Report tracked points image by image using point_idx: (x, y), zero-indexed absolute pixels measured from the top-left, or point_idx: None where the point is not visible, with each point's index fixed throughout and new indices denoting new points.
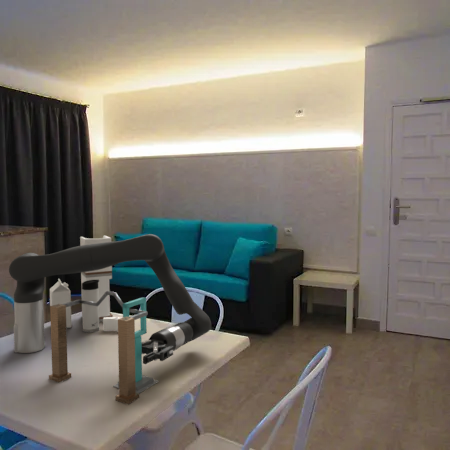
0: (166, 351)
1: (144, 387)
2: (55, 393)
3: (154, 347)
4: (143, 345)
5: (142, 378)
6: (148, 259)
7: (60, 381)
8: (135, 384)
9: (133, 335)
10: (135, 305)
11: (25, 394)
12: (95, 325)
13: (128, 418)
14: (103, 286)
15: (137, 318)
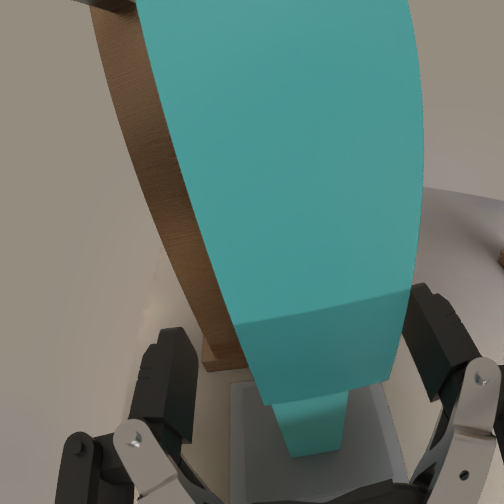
0: (62, 490)
1: (241, 433)
2: (437, 240)
3: (168, 486)
4: (398, 500)
5: (295, 464)
6: None
7: (501, 262)
8: (200, 327)
9: (115, 93)
10: None
11: (462, 210)
12: None
13: (166, 289)
14: None
15: (87, 1)
